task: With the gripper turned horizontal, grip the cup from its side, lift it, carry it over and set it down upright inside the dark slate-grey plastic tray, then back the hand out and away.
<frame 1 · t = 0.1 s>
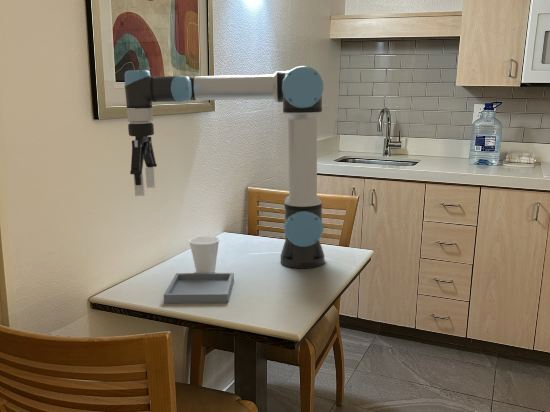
hand: (145, 191, 170), 28 cm above the table, tool pointing down, fingers open, 13 cm apart
tray: (200, 291, 162), on the table
cup: (205, 272, 179), on the table
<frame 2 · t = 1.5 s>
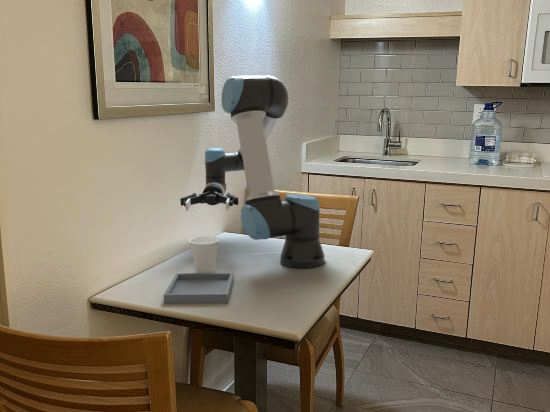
hand: (206, 206, 184), 20 cm above the table, tool horizontal, fingers open, 13 cm apart
nothing on the table moved.
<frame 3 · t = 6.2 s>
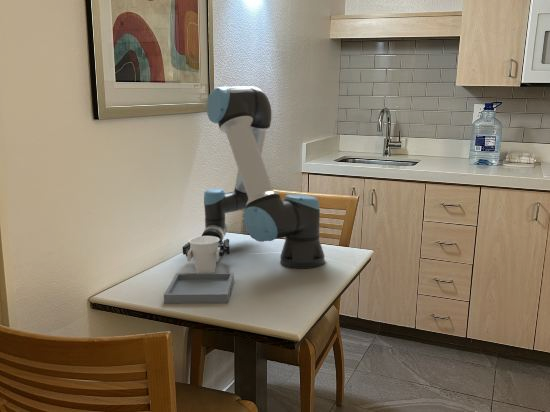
hand: (202, 257, 173), 7 cm above the table, tool horizontal, fingers closed on cup, 8 cm apart
cup: (205, 272, 179), on the table, touching gripper
when the fingers open (8 cm above the table, at t = 11.4 s): cup drops 1 cm, resting on tray.
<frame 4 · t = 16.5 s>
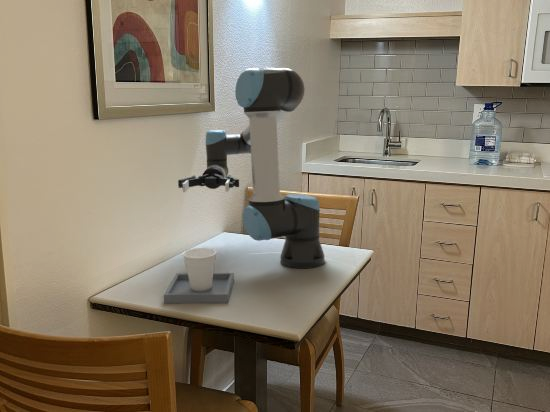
hand: (205, 187, 174), 28 cm above the table, tool horizontal, fingers open, 13 cm apart
cup: (201, 288, 163), point 1 cm above the table, touching tray
at the end: cup inside the target area on the tray (0.4 cm from its centre), point 0.6 cm above the tray's base; cup tilted 0°; the gripper is holding nothing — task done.
